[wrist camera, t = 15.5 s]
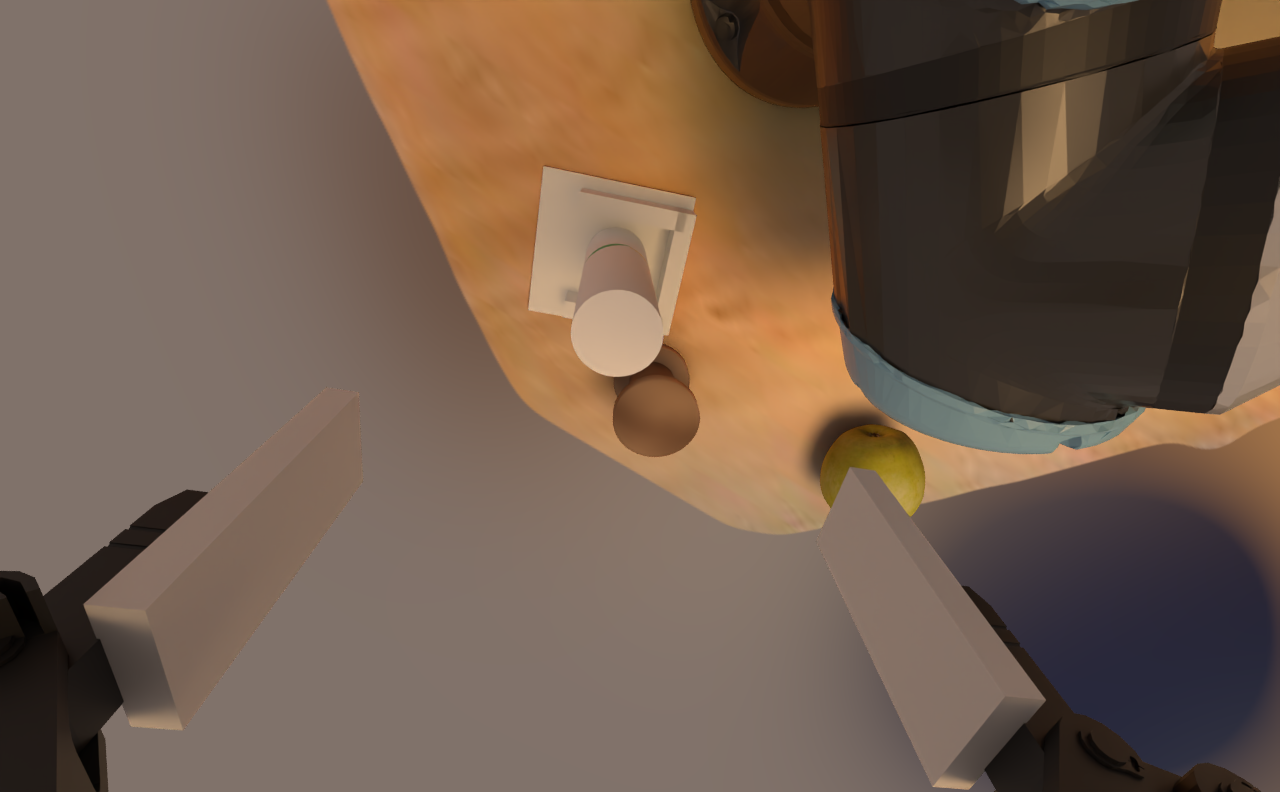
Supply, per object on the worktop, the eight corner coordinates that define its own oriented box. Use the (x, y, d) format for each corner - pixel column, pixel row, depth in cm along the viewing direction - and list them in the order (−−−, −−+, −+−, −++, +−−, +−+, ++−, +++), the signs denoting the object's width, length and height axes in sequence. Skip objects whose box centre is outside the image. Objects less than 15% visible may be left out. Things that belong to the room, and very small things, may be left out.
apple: (803, 496, 49) (835, 559, 42) (811, 410, 44) (848, 464, 37) (887, 490, 49) (933, 552, 42) (903, 403, 44) (957, 456, 37)
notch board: (544, 165, 35) (538, 169, 32) (695, 197, 36) (701, 203, 34) (529, 308, 40) (522, 321, 37) (664, 331, 41) (667, 346, 38)
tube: (656, 243, 37) (679, 313, 24) (630, 297, 39) (638, 389, 26) (600, 216, 36) (593, 273, 23) (576, 272, 38) (556, 355, 25)
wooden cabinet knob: (621, 336, 41) (621, 374, 35) (695, 349, 42) (709, 389, 35) (608, 403, 43) (606, 450, 37) (678, 415, 44) (688, 462, 38)
